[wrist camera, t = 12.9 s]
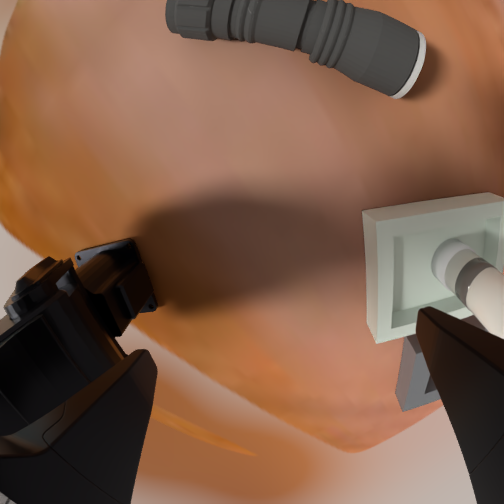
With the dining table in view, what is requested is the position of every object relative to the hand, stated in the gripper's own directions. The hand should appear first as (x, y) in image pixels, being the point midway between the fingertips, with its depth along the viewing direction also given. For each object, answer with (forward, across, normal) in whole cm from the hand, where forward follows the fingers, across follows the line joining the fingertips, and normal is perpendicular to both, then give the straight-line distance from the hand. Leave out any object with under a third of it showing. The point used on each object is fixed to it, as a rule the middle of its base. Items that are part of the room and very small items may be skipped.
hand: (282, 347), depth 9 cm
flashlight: (+14, -4, -13) cm, 19 cm away
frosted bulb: (+12, -14, +5) cm, 19 cm away
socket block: (+13, -15, +17) cm, 26 cm away
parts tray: (+13, -13, +5) cm, 19 cm away
